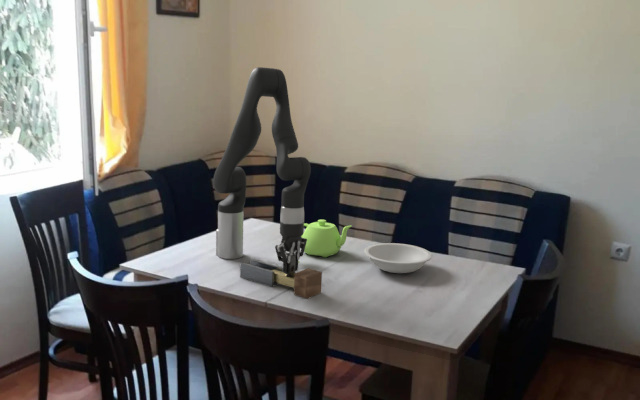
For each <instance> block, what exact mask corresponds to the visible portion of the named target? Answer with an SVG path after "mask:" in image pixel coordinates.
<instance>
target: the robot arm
mask: <svg viewBox="0 0 640 400" xmlns="http://www.w3.org/2000/svg"><path fill="white" fill-rule="evenodd" d="M243 96H244V97H243V100H242V103H241V107H240V110H239V113H238V116H237V117H236V121H235V123H234V126H233V129H232V132H231V134H230V138H229V140H228V142H227V146H226V148H225V149H224V150H225V151H224V153H223V156H222V158H221V159H220V162H219V164H218V165H217V167H216V169H215V171H214V174H213V179H212V180H213V181H212V182H213V183H212V184H213V185H212V186H213V188H214V190H215V192H217V193H218V194H228V196H226V197H225V198H224V199H223V200H221V201H219V202H218V205H217V229H216V231H215V240H216V241H215V255H216V256H217V257H219V258H221V259H226V260H233V259H234V260H236V259H239V258H242V257H243V256H244V206H245V204H246V194H247V177H246V176H247V175H246V172H245V170H244V168H243V167H241V166H238V165H239V164H240V163H241V162H242V161H243V160H244V159H245V158H246V157H247V156H248V155H250V154H251V152H252V151H253V150H254V149H255V148H256V146H257V144H258V141H259V138H260V136H261V133H262V124H261V119H260V116H259V113H258V106H259V105H258V104H259V102H260V99H261V98H262V97H267V98H273V99H274V102H275V105H276V109H275V113H274V117H273V120H272V123H271V135H272V139H273V141H274V146H275V151H276V173H277V176H278V177H279V178H280V179H281V180H282V181H285V182H287V181H293V183H292V184H291V185H289V186H286V187H284V188H283V189H282V190H281V204H280V205H281V207H280V214H279V215H280V216H279V217H280V220H279V234H280V235H281V237H282V238H281V241H280V243H279V244H276V245H275V246H274V249H275V252H276V256H277V260H278V262H282V267H283V272H284V273H285V274H289V273H290V259H291V256H292V255H293V254H295V255H296V266H295V272H298V270H299V263H298V261H299V260H300V259H301V257H304V253H305V252H304V250H305V246H306V242H307V239H305V238H302V237H301V236H302V235H303V233H304V231H305V226H304V223H305V207H304V205H305V203H304V202H305V192H306V190H307V186H308V183H309V179H310V176H311V171H312V170H311V169H312V167H311V163H310V161H309V160H308V159H307V157H303V156H298V157H297V156H295V157H289V155H291V154H293V153H295V152H296V151H297V150H298V149H299V142H298V140H297V137H296V132H295V128H294V125H293V122H292V115H291V108H290V98H289V90H288V84H287V79H286V76H285V74H284V72H283V71H282V70H281V69H279V68H272V67H260V66H258V67H255V68H253V69H252V71H251V72H250V76H249V78H248V81H247V85H246V89H245V92H244V95H243ZM286 255H287V259H286Z"/></svg>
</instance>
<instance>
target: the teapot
mask: <svg viewBox="0 0 640 400" xmlns="http://www.w3.org/2000/svg"><path fill="white" fill-rule="evenodd" d="M304 227H306V228H305V229H304V233H303V235H302V238H305V239H307V242H306V246H305V250H304V253H306V255H308V256H320V257H322V258H328V257H329V256H334V255H336V254H337V253H339V251H340V250H341V248H342V246H344V245H345V243H346V240H347V235H348V230H349V229H350V228H351V227H352V225H346V226H344V227H343V229H342V232H341V235H340V232H339V230H338V227H337V226H336V225H335V224H334V223H331V222H327V220H326V219H318V220H317V221H314V222H311V223H307V222H306V223H305V222H304Z"/></svg>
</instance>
